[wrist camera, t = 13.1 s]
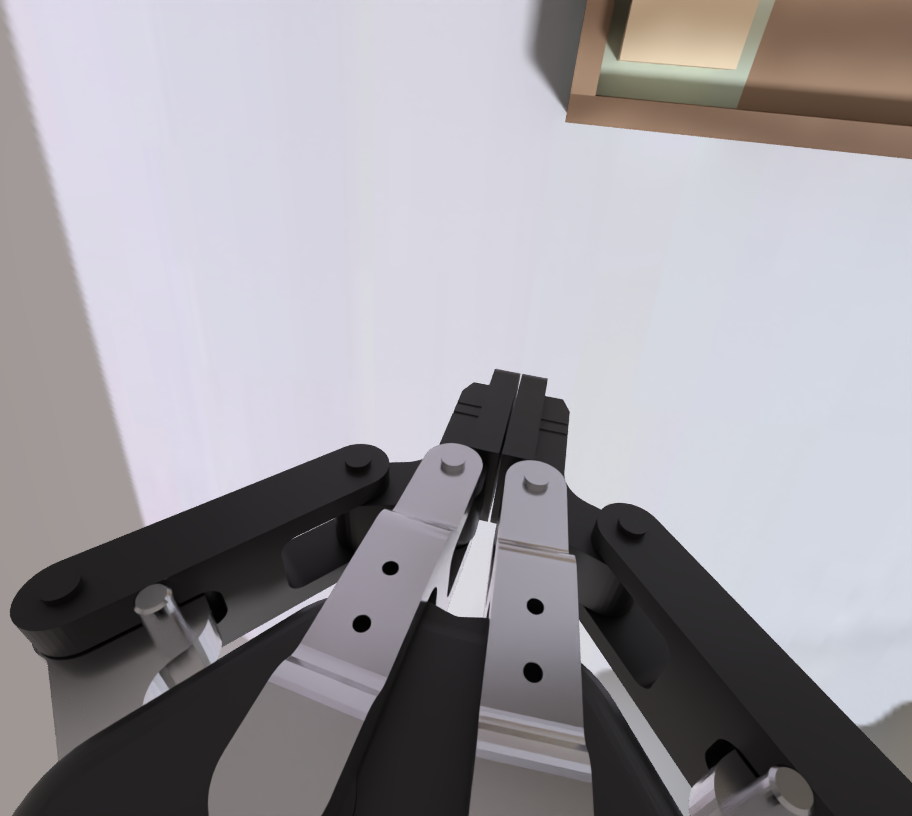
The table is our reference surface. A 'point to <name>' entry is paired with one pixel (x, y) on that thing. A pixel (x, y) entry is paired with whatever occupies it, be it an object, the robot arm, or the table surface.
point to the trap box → (764, 79)
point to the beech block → (687, 32)
